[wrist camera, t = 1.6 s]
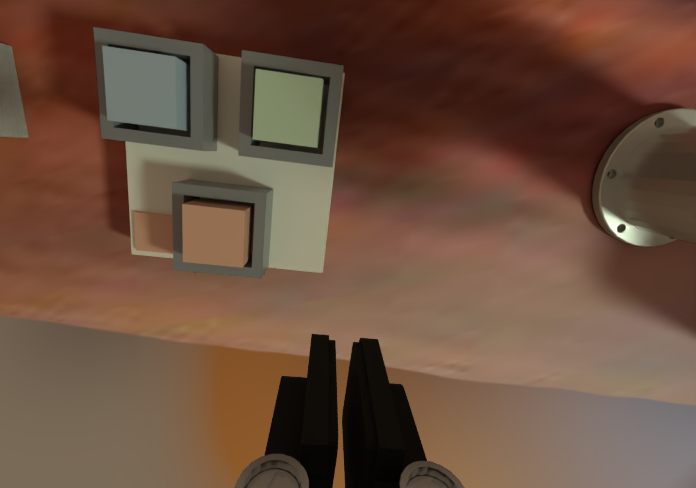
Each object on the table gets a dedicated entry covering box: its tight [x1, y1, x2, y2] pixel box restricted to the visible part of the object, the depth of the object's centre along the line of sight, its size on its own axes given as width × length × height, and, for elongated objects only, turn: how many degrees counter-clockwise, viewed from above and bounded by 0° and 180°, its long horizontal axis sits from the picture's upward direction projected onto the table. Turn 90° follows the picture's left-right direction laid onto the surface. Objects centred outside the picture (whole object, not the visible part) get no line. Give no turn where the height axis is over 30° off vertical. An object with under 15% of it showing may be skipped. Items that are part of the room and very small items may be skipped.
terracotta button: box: [182, 199, 253, 268], centre depth 24 cm, size 4×4×2 cm
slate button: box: [102, 46, 191, 131], centre depth 21 cm, size 4×4×2 cm
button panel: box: [93, 27, 345, 278], centre depth 26 cm, size 16×16×6 cm
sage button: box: [253, 69, 324, 148], centre depth 22 cm, size 4×4×2 cm
